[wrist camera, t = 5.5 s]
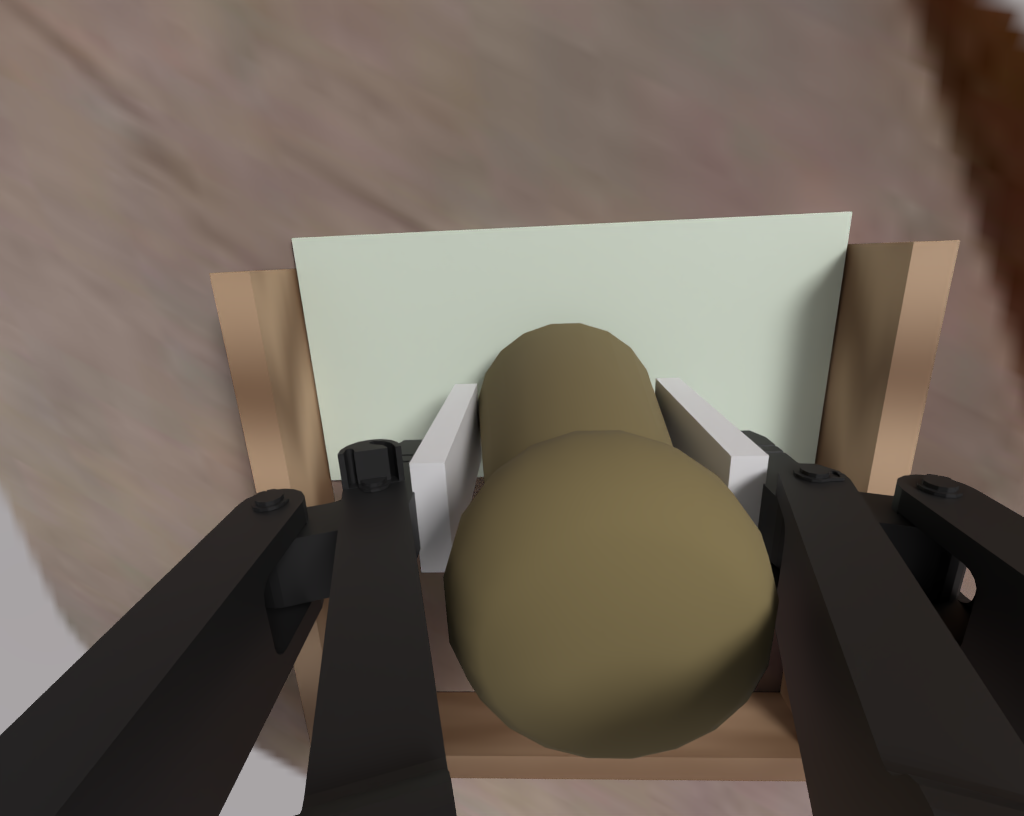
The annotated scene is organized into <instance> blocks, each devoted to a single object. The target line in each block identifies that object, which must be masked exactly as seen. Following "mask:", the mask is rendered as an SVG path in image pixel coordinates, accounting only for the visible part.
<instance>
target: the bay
mask: <svg viewBox="0 0 1024 816" xmlns="http://www.w3.org/2000/svg"><path fill="white" fill-rule="evenodd" d="M959 243H960V240H951V241H922V242H893V243H869V244H847V251H846V258H845V264H844V271H843V278H842V284H841V291H840V298H839V304H838V311H837V318H836V324H835V331H834V338H833V345H832V351H831V358H830V365H829V371H828V378H827V385H826V391H825V398H824V405H823V411H822V418H821V425H820V431H819V438H818V445H817V452H816V458H815V464H818V465H822V466H824V467H828V468H831V469H835V470H837V471H840V472H841V473H843V474H845V475H846V476H847V477H848V478H849V479H851V481H852V482H853V484H854V486H855V487H856V489H857V490H858V491H859V492H865V493H874V494H882V495H891V496H894V493H895V488H896V483H897V479H898V478H900V477H902V476H904V475H910V473H911V469H912V464H913V459H914V454H915V450H916V445H917V440H918V436H919V431H920V426H921V422H922V417H923V412H924V407H925V403H926V398H927V393H928V389H929V384H930V379H931V375H932V370H933V365H934V360H935V356H936V351H937V346H938V342H939V337H940V332H941V327H942V323H943V318H944V313H945V309H946V304H947V299H948V295H949V290H950V285H951V280H952V276H953V271H954V266H955V262H956V257H957V252H958V248H959ZM209 274H210V279H211V284H212V288H213V293H214V297H215V302H216V307H217V311H218V316H219V321H220V325H221V330H222V335H223V339H224V344H225V349H226V353H227V358H228V363H229V367H230V372H231V376H232V381H233V386H234V390H235V395H236V400H237V404H238V409H239V414H240V418H241V423H242V428H243V432H244V437H245V442H246V446H247V451H248V455H249V460H250V465H251V469H252V474H253V479H254V483H255V488H256V493H259V492H262V491H267V490H270V489H295V490H298V491H301V492H302V493H303V494H304V496H305V501H306V506H307V507H310V506H316V505H322V504H328V503H332V502H335V501H334V495H333V488H332V482H331V476H330V470H329V464H328V458H327V452H326V446H325V440H324V434H323V428H322V422H321V416H320V409H319V403H318V397H317V391H316V385H315V379H314V373H313V367H312V361H311V355H310V349H309V343H308V337H307V331H306V324H305V318H304V312H303V306H302V300H301V294H300V288H299V282H298V276H297V270H296V269H280V270H258V271H240V272H223V273H209ZM328 605H329V598H325V599H324V602H323V607H322V609H321V611H320V613H319V615H318V617H317V619H316V621H315V623H314V625H313V627H312V629H311V631H310V633H309V635H308V637H307V639H306V641H305V643H304V645H303V647H302V649H301V651H300V653H299V655H298V657H297V659H296V661H295V663H294V669H295V674H296V679H297V683H298V688H299V693H300V697H301V702H302V706H303V711H304V716H305V720H306V725H307V730H308V734H309V739H310V744H311V740H312V732H313V724H314V716H315V708H316V700H317V692H318V684H319V676H320V668H321V660H322V652H323V644H324V636H325V628H326V620H327V612H328ZM436 693H437V700H438V707H439V714H440V720H441V727H442V734H443V741H444V748H445V754H446V761H447V767H448V771H449V772H450V777H451V778H516V779H618V780H721V781H806V778H805V773H804V769H803V764H802V759H801V754H800V749H799V744H798V739H797V734H796V729H795V724H794V719H793V714H792V710H791V705H790V700H789V695H788V690H787V685H786V680H785V675H784V670H783V676H782V683H781V690H780V692H753V693H752V694H751V696H750V698H749V700H748V701H747V702H746V703H745V704H744V705H743V706H742V707H741V708H739V709H738V710H737V711H736V712H735V713H734V714H733V715H732V716H730V717H729V718H728V719H727V720H726V721H725V722H724V723H723V724H721V725H720V726H719V727H718V728H717V729H716V730H714V731H712V732H710V733H708V734H706V735H704V736H702V737H700V738H698V739H696V740H694V741H692V742H690V743H688V744H685V745H683V746H681V747H679V748H677V749H674V750H670V751H665V752H661V753H656V754H652V755H647V756H642V757H638V758H633V759H613V758H585V757H581V756H577V755H573V754H569V753H565V752H561V751H557V750H553V749H549V748H545V747H543V746H541V745H539V744H538V743H536V742H534V741H532V740H530V739H528V738H527V737H525V736H523V735H521V734H519V733H517V732H515V731H514V730H512V729H510V728H508V727H507V726H506V725H505V724H504V723H503V722H502V721H501V720H500V719H499V718H498V717H497V716H496V715H495V714H494V713H493V712H492V711H491V710H490V709H489V708H488V707H487V706H486V705H485V704H484V703H483V702H482V701H481V700H480V699H479V697H478V695H477V694H476V692H436Z"/></svg>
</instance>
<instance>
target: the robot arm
mask: <svg viewBox="0 0 1024 816" xmlns="http://www.w3.org/2000/svg"><path fill="white" fill-rule="evenodd" d="M655 395H656V398H657V401H658V404H659V407H660V410H661V413H662V416H663V418H664V421H665V424H666V427H667V430H668V433H669V436H670V439H671V442H672V444H673V447H675V448H677V449H679V450H681V451H682V452H683V453H685V454H686V455H688V456H689V457H691V458H692V459H694V460H695V461H697V462H698V463H700V464H701V465H703V466H704V467H705V468H707V469H708V470H710V471H711V472H713V473H714V474H716V475H717V476H718V477H719V478H720V479H721V480H722V481H723V482H724V484H725V485H726V486H727V487H728V488H729V489H730V490H731V492H732V493H733V494H734V495H735V497H736V498H737V500H738V501H739V502H740V504H741V505H742V507H743V508H744V509H745V511H746V512H747V514H748V515H749V516H750V518H751V519H752V521H753V522H754V523H755V525H756V526H757V528H758V529H759V530H760V532H761V535H762V538H763V541H764V544H765V547H766V550H767V553H768V556H769V560H770V564H771V569H772V573H773V577H774V581H775V585H776V589H777V594H778V598H779V604H778V610H777V617H776V623H775V631H776V636H777V641H778V646H779V651H780V655H781V660H782V665H783V670H784V675H785V680H786V685H787V690H788V695H789V700H790V705H791V710H792V714H793V719H794V724H795V729H796V734H797V739H798V744H799V749H800V754H801V759H802V764H803V769H804V773H805V778H806V783H807V788H808V793H809V798H810V803H811V808H812V813H813V816H1024V517H1022V516H1021V515H1019V514H1017V513H1015V512H1014V511H1012V510H1010V509H1009V508H1007V507H1005V506H1003V505H1002V504H1000V503H998V502H997V501H995V500H993V499H991V498H990V497H988V496H986V495H985V494H983V493H981V492H979V491H978V490H976V489H974V488H972V487H969V486H967V485H965V484H963V483H959V482H956V481H954V480H952V479H951V478H948V477H944V476H938V475H932V474H927V475H904V476H902V477H900V478H898V479H897V483H896V488H895V493H894V496H891V495H882V494H874V493H865V492H859V491H858V490H857V489H856V487H855V486H854V484H853V482H852V481H851V479H849V478H848V477H847V476H846V475H845V474H843V473H841V472H840V471H837V470H835V469H831V468H828V467H824V466H822V465H818V464H808V463H798V462H796V461H795V460H794V459H793V458H791V457H790V456H789V455H788V454H786V453H783V450H781V449H780V448H779V447H778V446H775V444H774V443H773V442H771V441H770V440H769V439H768V438H766V437H765V436H762V435H760V434H757V433H755V432H752V431H750V430H744V431H740V430H739V429H738V428H737V427H735V426H734V425H733V424H732V423H731V422H730V421H728V420H727V419H726V418H725V417H724V416H723V415H721V414H720V413H719V412H718V411H717V410H716V409H715V408H713V407H712V406H711V405H710V404H709V403H708V402H706V401H705V400H704V399H703V398H702V397H701V396H700V395H698V394H697V393H696V392H695V391H694V390H693V389H691V388H690V387H689V386H688V385H687V384H686V383H684V382H683V381H682V380H681V379H680V378H656V382H655ZM337 455H338V462H339V468H340V474H341V481H342V487H343V493H342V500H340V501H336V502H332V503H328V504H322V505H316V506H310V507H307V506H306V501H305V496H304V494H303V493H302V492H301V491H298V490H295V489H270V490H267V491H262V492H259V493H257V495H254V496H252V497H250V498H247V499H246V500H244V501H243V502H242V503H240V504H239V505H238V506H237V507H236V508H235V509H234V510H233V511H231V512H230V513H229V514H228V515H227V516H226V517H225V518H224V519H223V520H222V521H221V522H220V523H219V524H218V525H217V526H216V527H215V528H214V529H213V530H212V531H211V532H210V533H209V534H208V535H207V536H206V537H205V538H204V539H203V540H202V541H201V542H199V543H198V544H197V545H196V546H195V547H194V548H193V549H192V550H191V551H190V552H189V553H188V554H187V555H186V556H185V557H184V558H183V559H182V560H181V561H180V562H179V563H178V564H177V565H176V566H175V567H174V568H173V569H172V570H171V571H170V572H168V573H167V574H166V575H165V576H164V577H163V578H162V579H161V580H160V581H159V582H158V583H157V584H156V585H155V586H154V587H153V588H152V589H151V590H150V591H149V592H148V593H147V594H146V595H145V596H144V597H143V598H142V599H141V600H140V601H139V602H138V603H136V604H135V605H134V606H133V607H132V608H131V609H130V610H129V611H128V612H127V613H126V614H125V615H124V616H123V617H122V618H121V619H120V620H119V621H118V622H117V623H116V624H115V625H114V626H113V627H112V628H111V629H110V630H109V631H108V632H107V633H105V634H104V635H103V636H102V637H101V638H100V639H99V640H98V641H97V642H96V643H95V644H94V645H93V646H92V647H91V648H90V649H89V650H88V651H87V652H86V653H85V654H84V655H83V656H82V657H81V658H80V659H79V660H78V661H77V662H76V663H75V664H73V665H72V667H70V668H69V669H68V670H67V671H66V672H65V673H64V674H63V675H62V676H61V677H60V678H59V679H58V680H57V681H56V682H55V683H54V684H53V685H52V686H51V687H50V688H49V689H48V690H47V691H46V692H45V693H44V694H42V695H41V696H40V698H38V699H37V700H36V701H35V702H34V703H33V704H32V705H31V706H30V707H29V708H28V709H27V710H26V711H25V712H24V713H23V714H22V715H21V716H20V717H19V718H18V719H17V720H16V721H15V722H14V723H13V724H12V725H10V726H9V727H8V728H7V729H6V730H5V731H4V732H3V733H2V734H1V735H0V816H219V814H220V812H221V810H222V808H223V806H224V804H225V802H226V800H227V798H228V796H229V794H230V792H231V790H232V788H233V786H234V784H235V782H236V780H237V778H238V776H239V773H240V772H241V770H242V767H243V766H244V763H245V762H246V760H247V758H248V755H249V753H250V752H251V750H252V748H253V746H254V744H255V742H256V740H257V738H258V735H259V733H260V731H261V729H262V727H263V725H264V723H265V721H266V719H267V717H268V715H269V713H270V711H271V709H272V707H273V705H274V703H275V701H276V699H277V697H278V695H279V693H280V691H281V689H282V687H283V685H284V683H285V681H286V679H287V677H288V675H289V673H290V671H291V669H292V667H293V665H294V663H295V661H296V659H297V657H298V655H299V653H300V651H301V649H302V647H303V645H304V643H305V641H306V639H307V637H308V635H309V633H310V631H311V629H312V627H313V625H314V623H315V621H316V619H317V617H318V615H319V613H320V611H321V609H322V607H323V602H324V599H325V598H329V605H328V612H327V620H326V628H325V636H324V644H323V652H322V660H321V668H320V676H319V684H318V692H317V700H316V708H315V716H314V724H313V732H312V740H311V747H310V755H309V763H308V771H307V779H306V788H305V795H304V801H303V807H302V811H301V813H300V814H299V815H295V816H457V815H456V809H455V802H454V796H453V789H452V783H451V777H450V772H449V771H448V767H447V761H446V754H445V748H444V741H443V734H442V727H441V720H440V714H439V707H438V700H437V693H436V687H435V680H434V673H433V666H432V660H431V653H430V646H429V639H428V632H427V626H426V619H425V612H424V605H423V599H422V592H421V585H420V578H419V572H418V565H417V557H418V554H419V555H420V564H421V573H426V572H445V569H446V566H447V562H448V559H449V556H450V552H451V549H452V545H453V542H454V538H455V535H456V531H457V528H458V525H459V521H460V518H461V515H462V514H463V512H464V511H465V510H466V508H467V507H468V505H469V504H470V503H471V501H472V496H473V492H474V488H475V484H476V480H477V476H478V472H479V467H480V463H481V459H482V452H481V437H480V422H479V405H478V390H477V384H455V385H454V387H453V388H452V390H451V392H450V394H449V395H448V397H447V399H446V400H445V402H444V404H443V406H442V407H441V409H440V411H439V413H438V414H437V416H436V418H435V420H434V421H433V423H432V425H431V427H430V428H429V430H428V432H427V433H426V435H425V437H424V439H423V440H403V441H402V442H400V443H398V442H396V441H393V440H388V439H372V440H365V441H360V442H356V443H353V444H350V445H348V446H346V447H344V448H343V449H341V450H340V451H339V453H338V454H337ZM966 567H967V568H968V569H969V570H970V571H971V573H972V575H973V577H974V579H975V583H976V588H977V589H976V593H975V596H974V598H973V600H972V601H971V600H969V599H968V598H967V597H965V596H964V595H963V594H962V593H961V592H960V589H961V585H962V582H963V578H964V574H965V571H966Z"/></svg>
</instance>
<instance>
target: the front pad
mask: <svg viewBox="0 0 1024 816" xmlns="http://www.w3.org/2000/svg"><path fill="white" fill-rule="evenodd" d="M851 217H852V212H833V213H812V214H791V215H770V216H749V217H728V218H707V219H686V220H665V221H643V222H622V223H601V224H580V225H559V226H538V227H517V228H496V229H475V230H454V231H432V232H411V233H390V234H369V235H348V236H327V237H306V238H292V244H293V251H294V257H295V263H296V269H297V275H298V281H299V287H300V293H301V299H302V305H303V311H304V317H305V323H306V330H307V336H308V342H309V348H310V354H311V360H312V366H313V372H314V378H315V384H316V390H317V396H318V402H319V409H320V415H321V421H322V427H323V433H324V439H325V445H326V451H327V457H328V463H329V469H330V475H331V480H341V474H340V468H339V462H338V455H337V454H338V453H339V451H340V450H341V449H343V448H344V447H346V446H348V445H350V444H353V443H356V442H360V441H365V440H372V439H388V440H393V441H396V442H398V443H400V442H402V441H403V440H423V439H424V437H425V435H426V433H427V432H428V430H429V428H430V427H431V425H432V423H433V421H434V420H435V418H436V416H437V414H438V413H439V411H440V409H441V407H442V406H443V404H444V402H445V400H446V399H447V397H448V395H449V394H450V392H451V390H452V388H453V387H454V385H455V384H477V390H478V398H479V394H480V391H481V387H482V384H483V380H484V377H485V373H486V372H487V370H488V369H489V368H490V366H491V365H492V363H493V362H494V360H495V359H496V357H497V356H498V354H499V353H500V351H501V350H503V349H504V348H505V347H507V346H508V345H509V344H510V343H512V342H513V341H514V340H516V339H517V338H518V337H520V336H521V335H522V334H524V333H526V332H529V331H532V330H535V329H538V328H541V327H543V326H546V325H549V324H563V323H582V324H585V325H588V326H592V327H595V328H598V329H602V330H605V331H608V332H609V333H611V334H612V335H614V336H615V337H617V338H618V339H619V340H621V341H622V342H624V343H625V344H626V345H628V346H629V347H631V349H632V350H633V351H634V353H635V354H636V356H637V357H638V358H639V360H640V361H641V363H642V364H643V365H644V367H645V368H646V370H647V372H648V375H649V378H650V381H651V384H652V387H653V389H654V392H655V382H656V378H680V379H681V380H682V381H683V382H684V383H686V384H687V385H688V386H689V387H690V388H691V389H693V390H694V391H695V392H696V393H697V394H698V395H700V396H701V397H702V398H703V399H704V400H705V401H706V402H708V403H709V404H710V405H711V406H712V407H713V408H715V409H716V410H717V411H718V412H719V413H720V414H721V415H723V416H724V417H725V418H726V419H727V420H728V421H730V422H731V423H732V424H733V425H734V426H735V427H737V428H738V429H739V430H740V431H744V430H750V431H752V432H755V433H757V434H760V435H762V436H765V437H766V438H768V439H769V440H770V441H771V442H773V443H774V444H775V446H778V447H779V448H780V449H781V450H783V453H786V454H788V455H789V456H790V457H791V458H793V459H794V460H795V461H796V462H798V463H808V464H815V458H816V452H817V445H818V438H819V431H820V425H821V418H822V411H823V405H824V398H825V391H826V385H827V378H828V371H829V365H830V358H831V351H832V345H833V338H834V331H835V324H836V318H837V311H838V304H839V298H840V291H841V284H842V278H843V271H844V264H845V258H846V251H847V244H848V238H849V231H850V224H851ZM480 437H481V436H480ZM481 452H482V448H481ZM477 477H484V473H483V461H482V459H481V463H480V467H479V472H478V476H477Z"/></svg>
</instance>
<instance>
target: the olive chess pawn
mask: <svg viewBox="0 0 1024 816" xmlns="http://www.w3.org/2000/svg"><path fill="white" fill-rule="evenodd" d="M478 405H479V422H480V436H481V448H482V461H483V473H484V485H483V486H482V488H481V489H480V491H479V492H478V493H477V495H476V496H475V497H474V499H473V500H472V501H471V503H470V504H469V505H468V507H467V508H466V510H465V511H464V512H463V514H462V515H461V518H460V521H459V525H458V528H457V531H456V535H455V538H454V542H453V545H452V549H451V552H450V556H449V559H448V562H447V566H446V569H445V573H444V576H443V579H444V590H445V601H446V612H447V623H448V632H449V642H450V644H451V646H452V648H453V651H454V653H455V655H456V657H457V659H458V661H459V663H460V665H461V667H462V669H463V671H464V673H465V675H466V677H467V679H468V681H469V682H470V684H471V686H472V687H473V689H474V690H475V692H476V694H477V695H478V697H479V699H480V700H481V701H482V702H483V703H484V704H485V705H486V706H487V707H488V708H489V709H490V710H491V711H492V712H493V713H494V714H495V715H496V716H497V717H498V718H499V719H500V720H501V721H502V722H503V723H504V724H505V725H506V726H507V727H508V728H510V729H512V730H514V731H515V732H517V733H519V734H521V735H523V736H525V737H527V738H528V739H530V740H532V741H534V742H536V743H538V744H539V745H541V746H543V747H545V748H549V749H553V750H557V751H561V752H565V753H569V754H573V755H577V756H581V757H585V758H613V759H633V758H638V757H642V756H647V755H652V754H656V753H661V752H665V751H670V750H674V749H677V748H679V747H681V746H683V745H685V744H688V743H690V742H692V741H694V740H696V739H698V738H700V737H702V736H704V735H706V734H708V733H710V732H712V731H714V730H716V729H717V728H718V727H719V726H720V725H721V724H723V723H724V722H725V721H726V720H727V719H728V718H729V717H730V716H732V715H733V714H734V713H735V712H736V711H737V710H738V709H739V708H741V707H742V706H743V705H744V704H745V703H746V702H747V701H748V700H749V698H750V696H751V694H752V693H753V691H754V689H755V688H756V686H757V684H758V682H759V681H760V679H761V677H762V676H763V674H764V672H765V671H766V669H767V667H768V664H769V658H770V653H771V647H772V641H773V635H774V629H775V623H776V617H777V610H778V604H779V598H778V594H777V589H776V585H775V581H774V577H773V573H772V569H771V564H770V560H769V556H768V553H767V550H766V547H765V544H764V541H763V538H762V535H761V532H760V530H759V529H758V528H757V526H756V525H755V523H754V522H753V521H752V519H751V518H750V516H749V515H748V514H747V512H746V511H745V509H744V508H743V507H742V505H741V504H740V502H739V501H738V500H737V498H736V497H735V495H734V494H733V493H732V492H731V490H730V489H729V488H728V487H727V486H726V485H725V484H724V482H723V481H722V480H721V479H720V478H719V477H718V476H717V475H716V474H714V473H713V472H711V471H710V470H708V469H707V468H705V467H704V466H703V465H701V464H700V463H698V462H697V461H695V460H694V459H692V458H691V457H689V456H688V455H686V454H685V453H683V452H682V451H681V450H679V449H677V448H675V447H673V444H672V442H671V439H670V436H669V433H668V430H667V427H666V424H665V421H664V418H663V416H662V413H661V410H660V407H659V404H658V401H657V398H656V395H655V392H654V389H653V387H652V384H651V381H650V378H649V375H648V372H647V370H646V368H645V367H644V365H643V364H642V363H641V361H640V360H639V358H638V357H637V356H636V354H635V353H634V351H633V350H632V349H631V347H629V346H628V345H626V344H625V343H624V342H622V341H621V340H619V339H618V338H617V337H615V336H614V335H612V334H611V333H609V332H608V331H605V330H602V329H598V328H595V327H592V326H588V325H585V324H582V323H563V324H549V325H546V326H543V327H541V328H538V329H535V330H532V331H529V332H526V333H524V334H522V335H521V336H520V337H518V338H517V339H516V340H514V341H513V342H512V343H510V344H509V345H508V346H507V347H505V348H504V349H503V350H501V351H500V353H499V354H498V356H497V357H496V359H495V360H494V362H493V363H492V365H491V366H490V368H489V369H488V370H487V372H486V373H485V377H484V380H483V384H482V387H481V391H480V394H479V398H478Z"/></svg>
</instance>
